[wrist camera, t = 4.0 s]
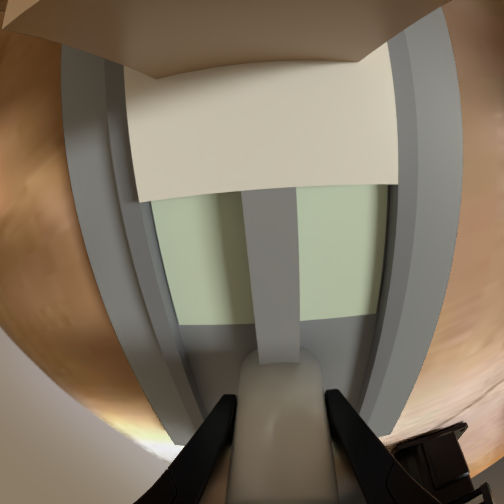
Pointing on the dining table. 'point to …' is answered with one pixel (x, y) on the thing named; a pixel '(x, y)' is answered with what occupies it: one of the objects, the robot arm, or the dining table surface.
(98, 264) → the track
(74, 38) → the sled
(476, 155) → the dining table surface
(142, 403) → the dining table surface
